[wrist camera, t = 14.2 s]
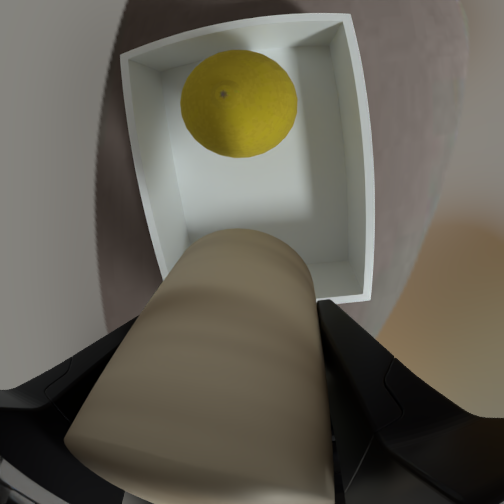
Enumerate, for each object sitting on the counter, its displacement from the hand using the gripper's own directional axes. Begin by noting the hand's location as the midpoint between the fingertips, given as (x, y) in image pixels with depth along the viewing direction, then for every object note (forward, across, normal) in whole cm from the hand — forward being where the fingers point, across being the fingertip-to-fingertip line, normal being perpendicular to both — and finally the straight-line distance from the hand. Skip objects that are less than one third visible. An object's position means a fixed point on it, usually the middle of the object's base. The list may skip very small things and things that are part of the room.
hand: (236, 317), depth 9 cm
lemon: (+11, 0, -7) cm, 13 cm away
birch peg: (+1, 0, 0) cm, 1 cm away
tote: (+12, 0, -4) cm, 12 cm away
